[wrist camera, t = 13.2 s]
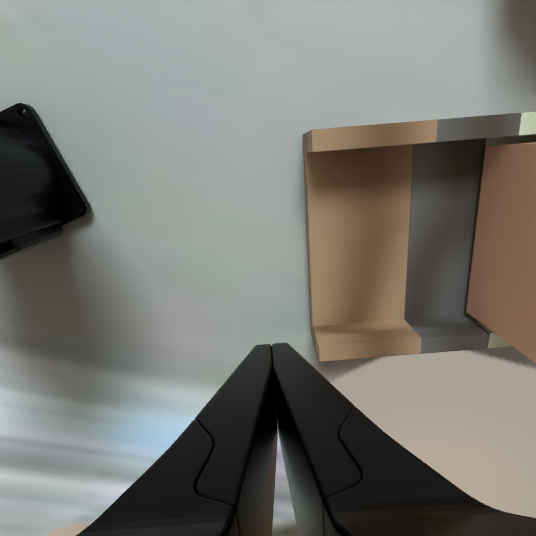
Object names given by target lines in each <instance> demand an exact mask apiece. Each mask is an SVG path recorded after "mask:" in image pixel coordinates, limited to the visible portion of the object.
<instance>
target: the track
mask: <svg viewBox="0 0 536 536" xmlns="http://www.w3.org/2000/svg"><path fill="white" fill-rule="evenodd" d="M526 142H536V112H526V113H514V114H501V115H489V116H477V117H464V118H452V119H440V120H427V121H415V122H402V123H390V124H378V125H365V126H353V127H341V128H328V129H316V130H311V131H309V132H307V133H305V134H303V149H304V173H305V197H306V221H307V246H308V270H309V294H310V318H311V334H312V337H313V341H314V344H315V348H316V351H317V355H318V358H319V361H320V362H321V361H334V360H346V359H359V358H372V357H384V356H397V355H409V354H422V353H435V352H447V351H460V350H472V349H485V348H498V347H510V346H511V345H510V344H509V343H507V342H506V341H505V340H503V339H502V338H501V337H499V336H498V335H497V334H495V333H494V332H493V331H491V330H490V329H489V328H487V327H486V326H485V325H483V324H482V323H481V322H479V321H478V320H477V319H475V318H474V317H473V316H471V315H470V314H469V313H467V312H466V309H467V301H468V292H469V284H470V275H471V267H472V258H473V250H474V241H475V232H476V224H477V215H478V207H479V198H480V190H481V181H482V173H483V164H484V156H485V147H486V146H489V145H502V144H514V143H526Z"/></svg>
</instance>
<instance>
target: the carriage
mask: <svg viewBox="0 0 536 536" xmlns="http://www.w3.org/2000/svg"><path fill="white" fill-rule="evenodd" d="M466 312H467V313H469V314H470V315H471V316H473V317H474V318H475V319H477V320H478V321H479V322H481V323H482V324H483V325H485V326H486V327H487V328H489V329H490V330H491V331H493V332H494V333H495V334H497V335H498V336H499V337H501V338H502V339H503V340H505V341H506V342H507V343H509V344H510V345H511V346H513V347H514V348H515V349H517V350H518V351H519V352H521V353H522V354H523V355H525V356H526V357H527V358H529V359H530V360H531V361H533V362H534V363H535V364H536V142H526V143H514V144H502V145H489V146H486V147H485V156H484V164H483V173H482V181H481V190H480V198H479V207H478V215H477V224H476V232H475V241H474V250H473V258H472V267H471V275H470V284H469V292H468V301H467V309H466Z"/></svg>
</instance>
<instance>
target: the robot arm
mask: <svg viewBox="0 0 536 536" xmlns="http://www.w3.org/2000/svg"><path fill="white" fill-rule="evenodd" d="M24 109H25V110H26V111H27V117H26V118H24V116H23V114H22V113H23V110H24ZM78 204H80V205H81V206H82V208H83V210H82V211H79V210H78V208H77V206H78ZM89 212H90V205H89V203H88V201H87V200H86V198H85V196H84V194H83V193H82V191H81V189H80V188H79V186H78V184H77V182H76V181H75V179H74V177H73V175H72V174H71V172H70V170H69V168H68V167H67V165H66V163H65V161H64V160H63V158H62V156H61V155H60V153H59V151H58V149H57V148H56V146H55V144H54V142H53V141H52V139H51V137H50V135H49V134H48V132H47V130H46V129H45V127H44V125H43V123H42V122H41V120H40V118H39V116H38V115H37V113H36V111H35V110H34V109H33V107H31V106H30V105H27V104H22V103H18V104H15V105H13V106H11V107H9V108H7V109H5V110H3V111H1V112H0V260H2V259H5V258H7V257H10V256H12V255H15V254H17V253H20V252H22V251H25V250H27V249H30V248H32V247H34V246H37V245H39V244H41V243H43V242H46V241H48V240H50V239H53V238H55V237H57V236H59V235H62V233H63V230H64V229H63V228H62V225H65V224H67V223H69V222H72V221H74V220H76V219H78V218H81V217H83V216H85V215H87V214H88V213H89ZM276 411H277V412H276ZM277 423H278V430H277ZM278 432H279V438H280V443H281V448H282V453H283V458H284V463H285V468H286V473H287V478H288V483H289V488H290V493H291V498H292V503H293V508H294V513H295V518H296V523H297V528H298V533H299V536H536V518H532V517H526V516H521V515H516V514H511V513H507V512H503V511H500V510H497V509H494V508H492V507H489V506H487V505H485V504H483V503H481V502H479V501H478V500H476V499H474V498H472V497H471V496H469V495H468V494H466V493H465V492H463V491H462V490H461V489H459V488H458V487H456V486H455V485H454V484H452V483H451V482H450V481H448V480H447V479H445V478H444V477H443V476H442V475H440V474H439V473H438V472H436V471H435V470H434V469H432V468H431V467H430V466H428V465H427V464H425V463H424V462H423V461H421V460H420V459H419V458H417V457H416V456H414V455H413V454H412V453H411V452H409V451H408V450H407V449H405V448H404V447H402V446H401V445H400V444H399V443H398V442H396V441H395V440H393V439H392V438H391V437H390V436H388V435H387V434H386V433H385V432H383V431H382V430H381V429H380V428H379V427H378V426H377V425H375V424H374V423H373V422H372V421H371V420H370V419H369V418H367V417H366V416H365V415H364V414H363V413H362V412H361V411H360V410H359V409H357V408H356V407H355V406H354V405H353V404H352V403H351V402H350V401H349V400H348V399H347V398H346V397H345V396H344V395H342V394H341V393H340V392H339V391H338V390H337V389H336V388H335V387H334V386H333V385H332V384H331V383H330V382H329V381H327V380H326V379H325V378H324V377H323V376H322V375H321V374H320V373H319V372H318V371H317V370H316V369H315V368H314V367H312V366H311V365H310V364H309V363H308V362H307V361H306V360H305V359H304V358H303V357H302V356H301V355H300V354H299V353H297V352H296V351H295V350H294V349H293V348H292V347H291V346H290V345H289V344H288V343H276V344H273V345H272V346H271V345H270V344H263V345H256V346H255V347H254V348H253V349H252V350H251V352H250V353H249V354H248V355H247V356H246V358H245V359H244V360H243V361H242V362H241V364H240V365H239V366H238V367H237V368H236V370H235V371H234V372H233V373H232V374H231V376H230V377H229V378H228V379H227V381H226V382H225V383H224V384H223V385H222V387H221V388H220V389H219V390H218V391H217V393H216V394H215V395H214V396H213V397H212V399H211V400H210V401H209V402H208V403H207V405H206V406H205V407H204V408H203V409H202V411H201V412H200V413H199V414H198V415H197V417H196V418H195V420H193V421H192V422H191V424H190V425H189V426H188V427H187V428H186V430H185V431H184V432H183V433H182V434H181V435H180V436H179V438H178V439H177V440H176V441H175V442H174V443H173V444H172V445H171V447H170V448H169V449H168V450H167V451H166V452H165V453H164V454H163V455H162V456H161V457H160V458H159V459H158V460H157V461H156V462H155V463H154V464H153V465H152V466H151V467H150V468H149V469H148V470H147V471H146V472H145V473H144V474H143V475H142V476H141V477H140V478H139V479H138V480H137V481H136V482H134V483H133V484H132V485H131V486H130V487H129V488H128V489H127V490H126V491H125V492H124V493H123V494H122V495H121V496H120V497H119V498H118V499H117V500H116V501H115V502H114V503H113V504H112V505H111V506H110V507H109V508H108V509H107V510H106V511H105V512H104V513H103V514H102V515H100V516H99V517H98V518H97V519H96V520H95V521H94V522H93V523H92V524H91V525H89V526H88V527H87V528H86V529H84V530H83V531H82V532H80V533H79V534H78V535H76V536H272V522H273V505H274V488H275V471H276V455H277V434H278Z"/></svg>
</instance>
